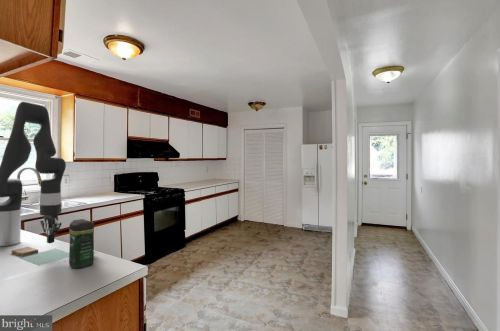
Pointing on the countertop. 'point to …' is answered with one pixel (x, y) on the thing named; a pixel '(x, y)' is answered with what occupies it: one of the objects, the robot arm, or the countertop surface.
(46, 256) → the mat
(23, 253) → the slab
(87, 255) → the coffee jar
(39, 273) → the countertop surface
